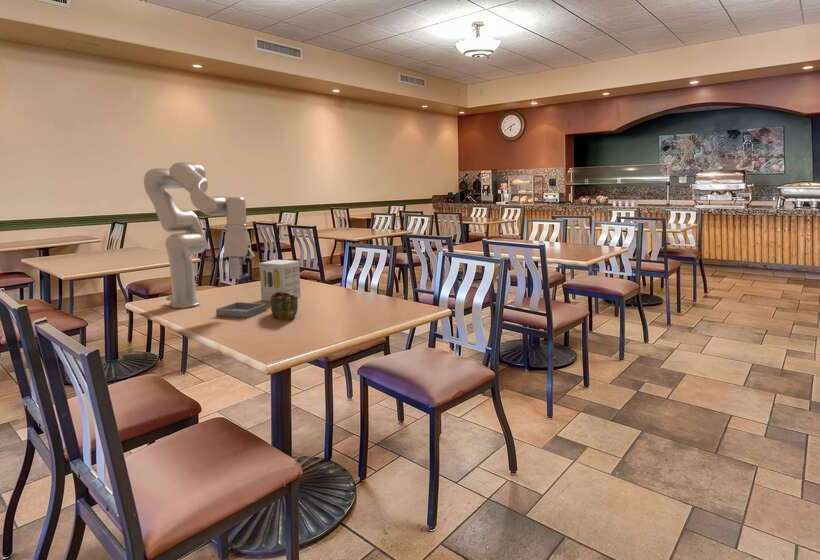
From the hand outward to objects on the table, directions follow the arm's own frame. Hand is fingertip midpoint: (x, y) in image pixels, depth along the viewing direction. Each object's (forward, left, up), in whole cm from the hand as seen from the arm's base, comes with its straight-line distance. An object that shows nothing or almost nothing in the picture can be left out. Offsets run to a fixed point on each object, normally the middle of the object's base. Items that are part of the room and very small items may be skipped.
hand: (239, 273), depth 212 cm
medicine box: (0, 0, -2) cm, 2 cm away
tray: (0, 0, -17) cm, 17 cm away
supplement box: (0, +31, -17) cm, 35 cm away
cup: (+19, 0, -17) cm, 26 cm away
